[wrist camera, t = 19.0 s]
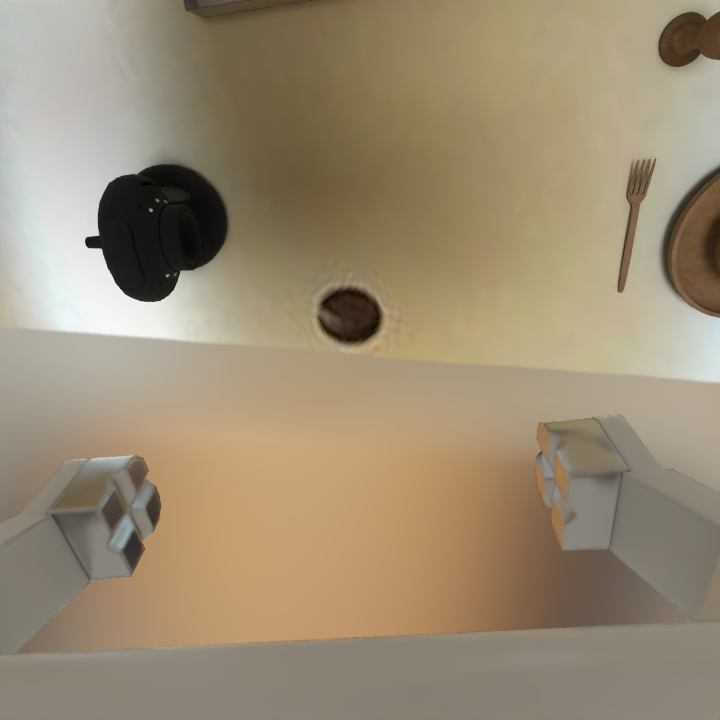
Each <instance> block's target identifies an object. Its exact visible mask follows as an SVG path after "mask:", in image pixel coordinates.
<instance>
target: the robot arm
mask: <svg viewBox="0 0 720 720" xmlns="http://www.w3.org/2000/svg"><path fill="white" fill-rule="evenodd" d="M537 441H538V444H539V446H540V448H541V450H542V451H541V452H540V453H539V454H538V455H537V457H536V467H535V469H536V471H535V472H536V480H537V486H538V490H539V494H540V496H541V499H542V502H543V504H544V505H545V506H546V507H548V508H549V509H551V525H552V527H553V530H554V532H555V534H556V537H557V539H558V542H559V544H560V546H561V549H562V550H589V549H610V551H611V552H612V553H613V554H614V555H615V556H616V557H618V558H619V559H620V560H621V561H622V562H624V563H625V564H626V565H627V566H628V567H630V568H631V569H632V570H633V571H634V572H636V573H637V574H638V575H639V576H640V577H641V578H643V579H644V580H645V581H646V582H647V583H649V584H650V585H651V586H652V587H654V588H655V589H656V590H657V591H658V592H659V593H660V594H662V595H663V596H664V597H665V598H666V599H668V600H669V601H670V602H671V603H672V604H674V605H675V606H676V607H677V608H678V609H679V610H681V611H682V612H683V613H684V614H685V615H687V616H688V617H689V618H690V619H691V620H693V621H690V622H671V623H670V622H668V623H647V624H627V625H606V626H586V627H564V628H543V629H522V630H501V631H480V632H459V633H441V634H440V633H439V634H438V633H437V634H416V635H398V636H397V635H396V636H374V637H353V638H334V639H312V640H292V641H270V642H249V643H229V644H208V645H186V646H167V647H147V648H146V647H145V648H125V649H104V650H84V651H83V650H82V651H63V652H62V651H61V652H41V653H20V654H15V653H16V652H17V651H18V650H19V649H20V648H21V647H22V646H23V645H24V644H25V643H26V642H28V640H30V639H31V638H32V637H33V636H34V635H35V634H36V633H37V632H38V631H39V630H40V629H41V628H42V627H43V626H45V625H46V624H47V622H49V621H50V620H51V619H52V618H53V617H54V616H55V615H56V614H57V613H58V612H59V611H60V610H62V609H63V608H64V607H65V606H66V605H67V604H68V603H69V602H70V601H71V600H72V599H73V598H74V597H75V596H76V595H77V594H78V593H80V592H81V591H82V590H83V589H84V588H85V587H86V586H87V585H88V584H89V583H90V581H89V580H99V579H110V578H121V577H131V576H132V574H133V572H134V570H135V568H136V566H137V564H138V562H139V560H140V558H141V556H142V554H143V552H144V550H145V547H144V545H143V542H142V540H144V539H145V538H146V537H147V536H149V534H151V533H152V532H154V530H155V528H156V525H157V523H158V521H159V516H160V509H161V502H160V496H159V493H158V491H157V488H156V486H154V485H153V484H152V483H151V482H149V481H148V480H146V476H147V474H148V471H149V469H148V467H147V465H146V463H145V461H144V459H143V458H142V457H139V456H137V455H135V456H119V457H118V456H117V457H101V458H92V459H90V458H88V459H74V460H69V461H67V462H64V463H62V465H61V466H60V467H59V468H58V470H57V471H56V472H55V473H54V474H53V475H52V477H51V478H50V479H49V480H48V482H47V483H46V484H45V485H44V486H43V487H42V489H41V490H40V491H39V492H38V493H37V494H36V496H35V497H34V498H33V499H32V500H31V502H30V503H29V504H28V505H27V506H26V508H25V509H24V510H23V511H22V512H21V514H20V515H19V516H16V517H10V518H8V519H7V520H5V521H3V522H2V523H0V720H720V492H718V491H716V490H714V489H712V488H710V487H708V486H706V485H704V484H702V483H700V482H698V481H696V480H694V479H692V478H690V477H688V476H686V475H684V474H682V473H680V472H678V471H676V470H674V469H663V467H662V466H661V465H660V463H659V462H658V461H657V460H656V458H655V457H654V456H653V454H652V453H651V452H650V450H649V449H648V448H647V447H646V445H645V444H644V442H643V441H642V440H641V439H640V437H639V436H638V435H637V433H636V432H635V431H634V429H633V428H632V427H631V425H630V424H629V423H628V421H627V420H626V419H625V418H624V417H623V416H622V415H620V414H616V415H608V416H598V417H592V418H586V419H575V420H564V421H551V422H541V423H539V425H538V429H537Z"/></svg>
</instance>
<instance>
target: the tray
mask: <svg viewBox="0 0 720 720" xmlns="http://www.w3.org/2000/svg"><path fill="white" fill-rule="evenodd" d="M183 1H184V5H185V9H186V11H188V12H191V13H193V14H196V15H199V16H201V17H209V16H215V15H222V14H228V13H234V12H241V11H247V10H253V9H259V8H266V7H272V6H278V5H285V4H291V3H297V2H304V1H310V0H183Z"/></svg>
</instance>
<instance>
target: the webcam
mask: <svg viewBox="0 0 720 720" xmlns="http://www.w3.org/2000/svg"><path fill="white" fill-rule="evenodd" d="M162 186H173V187H178V188H181V189H183V190H185V191H186V192H188V193H190V194H191V195H192V196H193V197H192V198H191V199H189V200H185V201H178V202H170V201H169V200H168V198H167V196H166V195H165V193H164V192H163V190H162V189H161V187H162ZM98 229H99V235H100V236H93V237H87V238H86V239H85V244H86V246H87V247H88V248H101V249H102V251H103V255H104V258H105V261H106V264H107V267H108V269H109V271H110V273H111V274H112V276H113V278H114V281H115V283H116V284H117V285H118V286H119V288H120V289H121V290H122V291H123V292H124V293H125V294H126V295H127V296H129V297H131V298H134V299H136V300H139V301H144V302H156V301H161V300H162V299H164V298H165V297H167V296H169V294H170V293H171V292H172V291H173V290H174V288H175V286H176V284H177V281H178V277H179V274H180V271H183V270H194V269H196V268H198V267H201V266H203V265H205V264H207V263H208V262H209V261H211V260H212V259H213V258H214V257H215V256H216V254H217V253H218V252H219V250H220V248H221V247H222V245H223V244H224V240H225V237H226V230H227V222H226V215H225V211H224V207H223V205H222V202H221V200H220V199H219V197H218V195H217V193H216V192H215V190H214V189H213V188H212V187H211V186H210V185H209V184H208V183H207V182H206V181H205V180H204V179H203V178H202V177H200V176H199V175H197V174H196V173H195V172H193V171H191V170H189V169H186V168H184V167H180V166H177V165H163V164H161V165H155V166H152V167H149V168H146V169H145V170H143V171H141V172H140V173H138V174H137V175H135V174H131V175H123V176H121V177H118V178H116V179H115V180H113V181H112V182H110V183H109V184H108V186H107V188H106V189H105V191H104V193H103V196H102V198H101V200H100V203H99V210H98Z"/></svg>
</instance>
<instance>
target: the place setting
mask: <svg viewBox="0 0 720 720" xmlns="http://www.w3.org/2000/svg"><path fill="white" fill-rule="evenodd" d="M701 53H702V54H703V55H704V56H705V57H707V58H710V59H715V60H720V12H718V13H716V14H714V15H713V16H712V17H710V18H709V19H708V20H707V21H706V19H705V18H704V17H703V16H702V15H700V14H698V13H694V12H689V13H685V14H682V15H680V16H678V17H676V18H675V19H674V20H673V21H672V22H670V24H669V25H668V26H667V27H666V29H665V30H664V32H663V34H662V37H661V40H660V54H661V57H662V59H663V60H664V61H665V62H666V63H667V64H668V65H670V66H675V67H680V66H684V65H687V64H689V63H691V62H692V61H694V60H695V59H696V58H697V57H698V56H699V55H700V54H701ZM638 162H639V160H638V161H637V164H636V166H635V169H634V172H633V175H632V179H631V182H630V186H629V189H628V195H627V198H628V201H629V202H630V203H631V205H632V213H631V218H630V224H629V229H628V234H627V239H626V244H625V250H624V255H623V261H622V266H621V272H620V279H619V292H623V290H624V286H625V282H626V278H627V273H628V268H629V263H630V257H631V252H632V247H633V241H634V235H635V230H636V224H637V219H638V213H639V207H640V203H641V202H642V200H643V199H644V198H645V196H646V193H647V189H648V186H649V183H650V180H651V176H652V173H653V170H654V166H655V162H656V158H655V160H654V162H653V165H652V168H651V171H650V174H649V177H648V180H647V184H646V187H645V190H644V193H643V194H642V193H641V192H642V188H643V185H644V181H645V178H646V174H647V171H648V168H649V164H650V159H649V161H648V164H647V166H646V169H645V172H644V175H643V179H642V182H641V185H640V189H639V192H638V194H636V190H637V186H638V183H639V180H640V176H641V173H642V169H643V165H644V160H643V162H642V165H641V168H640V171H639V174H638V177H637V180H636V184H635V187H634V191H633V194H632V195H631V194H630V193H631V188H632V185H633V181H634V178H635V174H636V171H637V167H638ZM668 269H669V275H670V278H671V281H672V283H673V285H674V287H675V289H676V291H677V292H678V293H679V295H680V296H681V297H682V298H683V299H684V300H685V301H686V302H687V303H688V304H689V305H691V306H692V307H693V308H695V309H697V310H698V311H700V312H702V313H705V314H707V315H710V316H714V317H718V318H720V173H719V174H717V175H716V176H715V177H714V178H712V179H711V180H710V181H709V182H707V183H706V184H705V185H704V186H703V187H702V188H701V189H700V190H699V191H698V192H697V193H696V194H695V196H694V197H693V198H692V199H691V200H690V201H689V203H688V204H687V206H686V207H685V209H684V210H683V212H682V213H681V215H680V217H679V219H678V221H677V222H676V225H675V227H674V230H673V232H672V235H671V239H670V242H669V248H668Z"/></svg>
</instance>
